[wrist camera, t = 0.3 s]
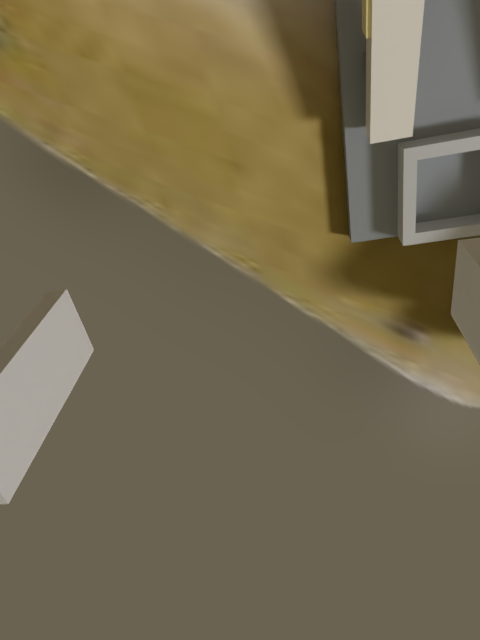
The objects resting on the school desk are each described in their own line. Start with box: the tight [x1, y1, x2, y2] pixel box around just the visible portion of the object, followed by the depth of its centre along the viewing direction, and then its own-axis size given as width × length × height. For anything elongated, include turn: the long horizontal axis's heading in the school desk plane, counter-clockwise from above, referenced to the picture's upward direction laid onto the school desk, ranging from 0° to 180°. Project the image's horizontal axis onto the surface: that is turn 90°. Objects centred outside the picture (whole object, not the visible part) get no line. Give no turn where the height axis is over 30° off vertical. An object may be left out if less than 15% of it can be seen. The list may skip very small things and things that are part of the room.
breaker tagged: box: [362, 0, 425, 144], centre depth 30 cm, size 10×3×2 cm, turn 12°
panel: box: [335, 0, 480, 246], centre depth 33 cm, size 20×18×4 cm
